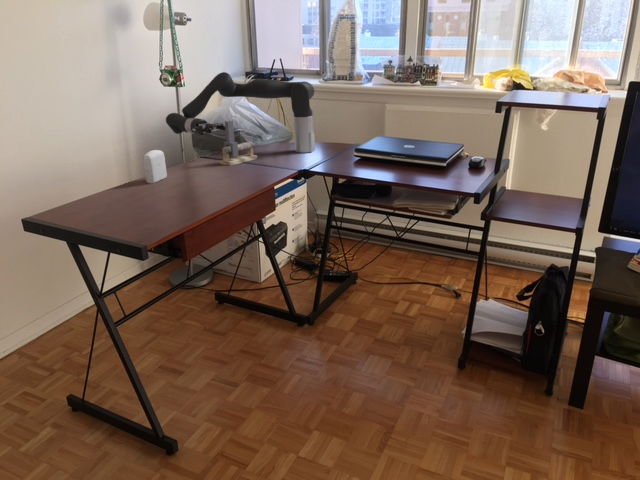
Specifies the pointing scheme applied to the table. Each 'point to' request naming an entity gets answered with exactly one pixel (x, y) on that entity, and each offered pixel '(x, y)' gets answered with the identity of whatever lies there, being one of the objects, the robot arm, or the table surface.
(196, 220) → the table surface
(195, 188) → the table surface
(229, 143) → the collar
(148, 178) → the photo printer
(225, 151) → the pipe stand
